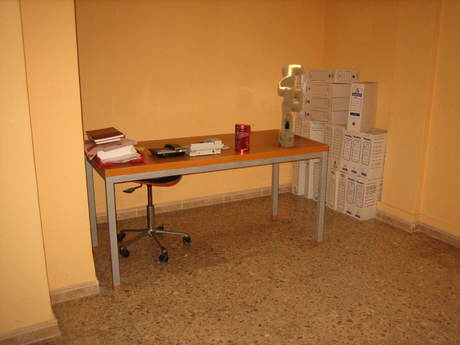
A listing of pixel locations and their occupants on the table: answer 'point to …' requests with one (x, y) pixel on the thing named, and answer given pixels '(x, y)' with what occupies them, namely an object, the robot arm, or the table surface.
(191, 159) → the table surface
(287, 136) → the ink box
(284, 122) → the sage block
